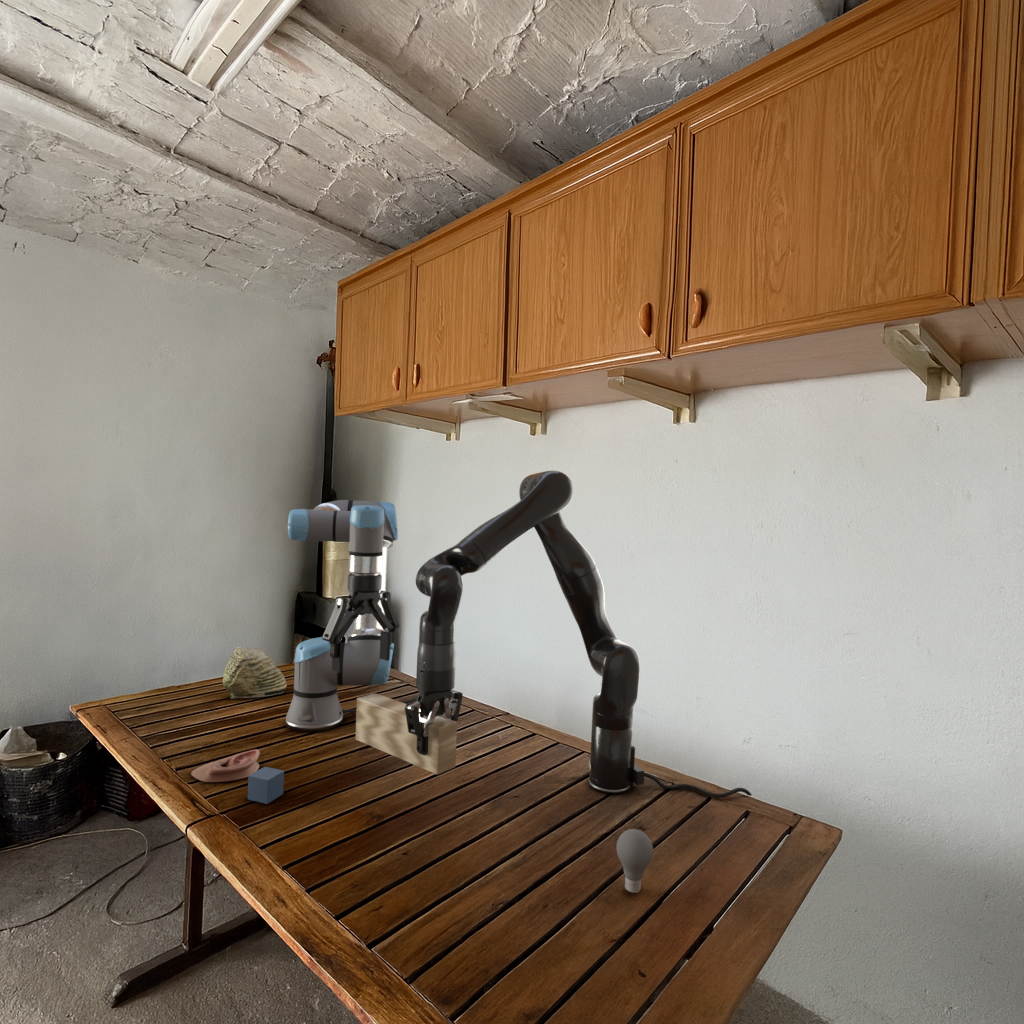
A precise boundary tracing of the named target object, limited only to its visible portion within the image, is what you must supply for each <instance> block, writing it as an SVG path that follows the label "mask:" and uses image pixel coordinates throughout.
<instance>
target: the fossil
mask: <svg viewBox="0 0 1024 1024" xmlns="http://www.w3.org/2000/svg"><path fill="white" fill-rule="evenodd" d="M222 676H223V677H222V685H223V687H224V688H225V690H226V691H228V693H229V698H230V699H250V698H264V697H271V696H275V695H281V694H284V693H285V691H286V689H287V687H288V686H287V680H286V678H285V676H284V674H283V673H282V672H281V669H279V668H278V667H277V665H276V663H275V662H274V660H273V659H272V658H271V657H270V656H269V655H268V654H267V653H266V652H265V650H264V649H263V648H260V647H258V648H251V647H247V646H246V647H245V646H238V647H237V648H236V649H235V650H233V651H232V653H231V656H230V657H229V659H228V660H227V663H226V666H225V668H224V671H223V675H222Z"/></svg>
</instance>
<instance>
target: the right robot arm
mask: <svg viewBox="0 0 1024 1024" xmlns="http://www.w3.org/2000/svg"><path fill="white" fill-rule="evenodd" d="M518 489H519V491H518V492H519V501H518V502H516V503H515V504H513V506H511V507H509V508H508V509H506V510H504V511H503V512H501V513H499V514H498V515H495V516H494V517H492V518H490V519H488V520H486V521H485V522H483V523H482V524H480V525H479V526H478V527H476V528H475V529H473V530H472V531H471V532H470V533H468V534H467V535H466V536H464V538H462V539H461V540H460V541H458V543H456V544H455V545H453V546H452V547H449V548H447V549H445V550H443V551H442V552H440V553H438V554H436V555H434V556H433V557H431V558H430V559H428V560H427V561H426V562H424V563H423V564H422V565H421V566H420V567H419V569H418V571H417V572H416V574H415V586H416V588H417V590H418V591H419V592H420V594H422V595H424V596H426V597H429V603H428V609H427V610H426V611H423V612H422V614H421V615H420V617H419V628H418V629H419V630H418V631H419V633H418V634H419V635H418V645H417V646H418V647H417V653H416V678H415V679H416V680H415V682H416V683H415V686H416V689H417V692H418V694H417V696H416V697H417V700H415V701H414V702H412V703H411V704H410V703H405V704H406V705H405V713H406V720H407V726H408V732H409V733H412V734H414V735H416V736H417V746H416V749H417V751H418V753H419V754H421V755H427V754H428V736H427V735H428V732H429V725H432V724H433V722H434V718H435V717H436V716H439V717H442V718H445V719H451V720H454V721H456V722H457V723H458V722H459V717H460V713H461V707H462V701H463V698H464V697H463V696H464V694H463V692H461V691H457V690H454V688H455V686H456V685H455V684H456V683H455V682H456V656H457V655H456V654H457V653H456V652H457V651H456V620H457V618H458V617H457V616H458V614H459V610H460V607H461V602H462V598H463V594H464V580H463V576H465V575H467V574H473V573H477V572H479V571H480V570H481V569H483V568H484V567H485V566H487V564H489V563H490V562H491V561H492V560H493V559H495V558H496V557H498V555H499V554H501V553H502V552H503V551H504V550H505V549H506V548H508V547H510V545H511V544H513V543H514V542H516V541H517V540H518V539H519V538H521V537H522V536H523V535H525V534H526V533H527V532H529V531H530V530H532V529H534V530H535V532H536V533H537V536H538V537H539V539H540V541H541V543H542V546H543V549H544V551H545V553H546V555H547V557H548V560H549V562H550V564H551V567H552V569H553V571H554V575H555V577H556V580H557V583H558V585H559V588H560V590H561V592H562V594H563V596H564V598H565V601H566V603H567V605H568V607H569V609H570V612H571V614H572V616H573V618H574V621H575V623H576V624H577V626H578V629H579V631H580V635H581V638H582V641H583V644H584V647H585V652H586V654H587V658H588V661H589V664H590V666H591V668H592V669H593V671H594V672H595V674H597V675H599V676H600V677H601V686H600V687H601V688H600V692H599V693H597V694H595V696H593V699H592V713H591V734H590V752H589V753H590V754H589V755H590V757H589V760H588V767H589V772H588V784H589V786H590V787H591V788H592V789H594V790H596V791H598V792H600V793H605V794H612V795H613V794H623V793H626V792H628V791H629V790H630V789H634V785H635V786H641V785H644V784H645V778H648V779H650V780H652V781H654V782H655V783H656V784H657V785H658V786H659V787H660V788H662V789H665V790H677V789H690V790H694V791H696V792H698V793H700V794H703V795H705V796H708V797H711V798H717V799H718V798H719V799H721V798H727V797H729V796H732V795H734V794H737V793H741V792H742V793H744V794H746V795H747V796H748V797H749V796H752V795H753V794H752V793H751V792H750V791H749V790H748V789H747V788H744V787H735V788H733V789H731V790H728V791H726V792H721V793H720V792H719V793H716V792H711V791H708V790H705V789H703V788H701V787H698V786H697V785H693V784H689V783H676V784H671V785H669V784H664V783H662V781H661V780H660V779H659V778H658V777H656V776H654V775H653V774H650V773H647V772H645V770H644V769H643V768H641V767H640V766H638V764H636V762H635V760H636V746H635V745H633V724H634V707H635V705H636V702H637V701H638V695H639V687H640V686H639V685H640V674H641V662H640V660H641V659H640V656H639V654H638V652H637V650H636V649H635V648H634V647H632V646H631V645H629V644H627V643H625V642H623V641H621V640H619V638H618V637H617V635H616V633H615V631H614V630H613V628H612V626H611V623H610V621H609V619H608V615H607V611H606V599H605V598H606V597H605V596H606V595H605V587H604V583H603V580H602V577H601V575H600V572H599V570H598V567H597V564H596V563H595V560H594V558H593V557H592V555H591V554H590V552H589V551H588V550H587V549H586V547H584V545H583V544H582V543H581V542H580V541H579V540H578V539H577V537H575V536H574V534H573V533H572V532H571V531H570V529H569V527H568V526H567V525H566V523H565V521H564V518H563V516H562V514H561V512H562V511H563V510H564V509H566V508H567V507H568V506H569V505H570V504H571V501H572V499H573V497H574V487H573V482H572V480H571V479H570V477H569V476H568V475H566V473H564V472H562V471H559V470H545V471H541V472H536V473H531V474H529V475H527V476H525V477H524V478H523V479H522V481H521V482H520V486H519V488H518ZM424 716H427V717H428V719H426V718H424ZM422 722H423V723H424V724H425V725H424V728H423V729H422ZM733 793H734V794H733Z"/></svg>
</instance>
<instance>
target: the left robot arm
mask: <svg viewBox="0 0 1024 1024" xmlns="http://www.w3.org/2000/svg"><path fill="white" fill-rule="evenodd" d="M288 513H289V514H288V518H287V535H288V538H289V539H290V540H292V541H299V542H300V541H301V542H334V543H349V549H348V550H349V551H348V572H349V574H348V576H347V590H348V596H347V597H343V596H337V597H336V599H335V606H334V609H333V610H332V613H331V616H330V618H329V621H328V623H327V625H326V628H325V630H324V632H323V635H322V636H320V637H314V638H310V639H306V640H303V641H302V642H299V643H298V645H296V648H295V655H294V660H293V663H294V672H293V673H294V674H293V675H294V679H293V695H292V696H293V697H292V699H291V702H290V704H289V708H288V711H287V713H286V715H285V726H286V728H287V729H289V730H291V731H294V732H295V731H296V732H301V733H316V732H325V731H329V730H332V729H335V728H337V727H339V726H340V725H342V723H343V722H344V713H356V710H357V708H352V709H350V708H349V709H342V706H341V702H340V699H339V695H338V686H343V687H344V686H370V687H372V686H382V685H384V684H386V683H387V682H388V681H389V678H390V672H391V665H392V660H393V653H394V647H395V643H393V634H395V633H396V632H397V629H399V628H400V627H401V625H400V622H399V619H398V616H397V614H396V611H395V608H394V606H393V602H392V595H391V592H390V591H387V573H388V571H387V570H388V552H389V550H390V549H391V548H392V547H393V546H394V542H395V541H397V540H398V538H399V531H398V519H397V510H396V506H395V504H394V503H392V502H391V501H381V500H377V501H376V500H355V499H353V500H350V499H338V500H332V501H328V502H324V503H321V504H318V505H316V506H315V507H314V508H313V509H310V508H309V509H308V508H300V509H299V508H294V509H291V510H290V511H289V512H288ZM352 624H353V630H352V632H351V633H350V634H348V636H347V642H342V641H343V638H344V637H345V636H346V634H347V632H348V631H349V629H350V627H351V626H352ZM417 697H418V696H416V697H413V698H411V699H407V700H402V701H401V702H402V703H405V704H410V703H413V702H416V700H417Z"/></svg>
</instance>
